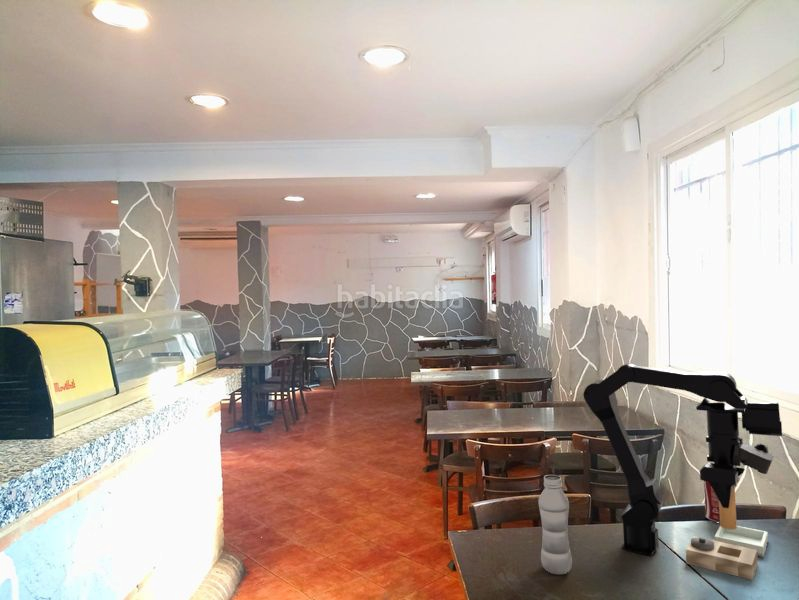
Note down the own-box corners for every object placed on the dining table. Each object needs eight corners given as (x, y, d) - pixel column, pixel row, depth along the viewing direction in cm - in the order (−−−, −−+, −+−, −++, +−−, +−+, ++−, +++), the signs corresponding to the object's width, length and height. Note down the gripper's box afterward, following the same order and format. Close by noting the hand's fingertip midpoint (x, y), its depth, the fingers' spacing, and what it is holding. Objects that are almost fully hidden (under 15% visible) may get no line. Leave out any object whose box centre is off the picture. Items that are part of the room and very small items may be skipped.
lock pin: (716, 527, 111) (713, 481, 112) (719, 521, 114) (717, 476, 114) (737, 531, 109) (734, 484, 109) (740, 525, 112) (737, 479, 112)
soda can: (741, 526, 130) (738, 477, 130) (711, 525, 132) (708, 477, 132) (729, 515, 137) (727, 469, 137) (701, 514, 138) (699, 468, 138)
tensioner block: (686, 563, 113) (685, 542, 113) (694, 549, 119) (693, 529, 119) (752, 580, 106) (751, 558, 106) (757, 564, 112) (756, 543, 112)
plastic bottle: (572, 565, 115) (568, 473, 115) (572, 580, 108) (567, 483, 108) (542, 561, 117) (538, 471, 117) (540, 577, 110) (535, 481, 111)
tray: (715, 545, 121) (714, 536, 121) (722, 531, 128) (721, 522, 128) (763, 556, 115) (763, 546, 115) (768, 541, 122) (767, 531, 122)
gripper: (763, 446, 100) (768, 529, 99) (773, 427, 114) (777, 499, 114) (697, 439, 107) (701, 516, 107) (714, 421, 121) (718, 489, 121)
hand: (727, 505), depth 112 cm, fingers closed on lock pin, 3 cm apart
